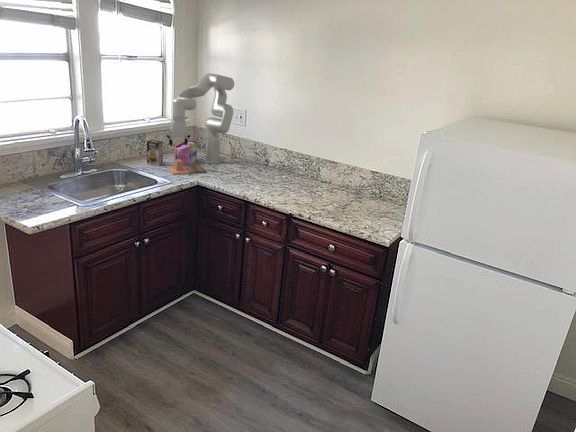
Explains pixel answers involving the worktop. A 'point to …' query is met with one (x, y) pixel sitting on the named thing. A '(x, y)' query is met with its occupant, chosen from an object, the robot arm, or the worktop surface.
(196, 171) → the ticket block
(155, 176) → the worktop surface
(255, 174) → the worktop surface
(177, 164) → the stub
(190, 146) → the gum box
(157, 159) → the coffee box
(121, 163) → the worktop surface
